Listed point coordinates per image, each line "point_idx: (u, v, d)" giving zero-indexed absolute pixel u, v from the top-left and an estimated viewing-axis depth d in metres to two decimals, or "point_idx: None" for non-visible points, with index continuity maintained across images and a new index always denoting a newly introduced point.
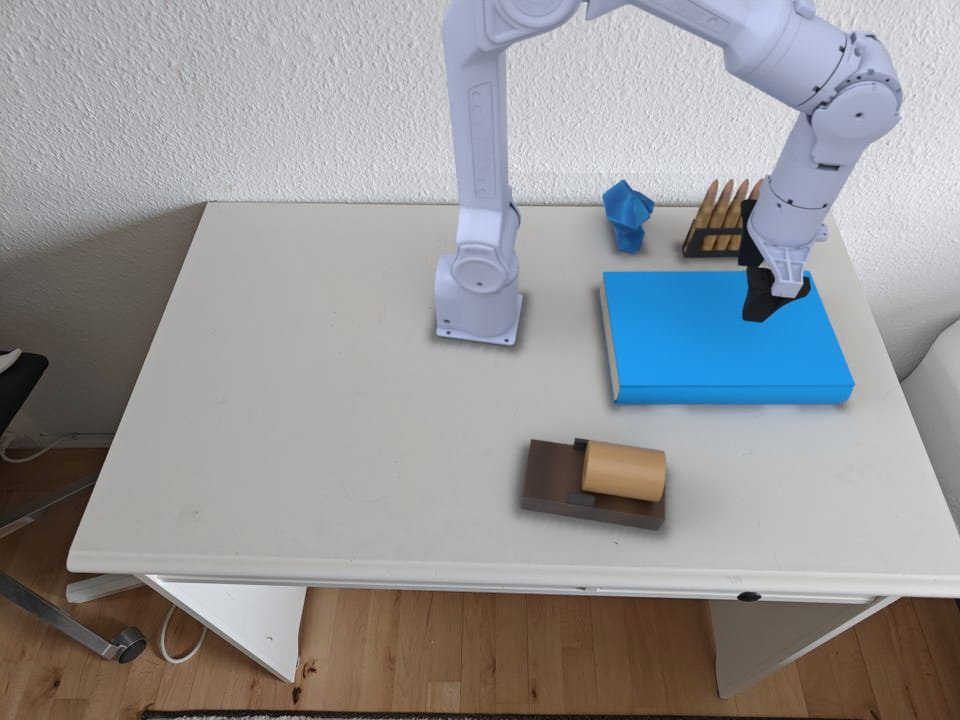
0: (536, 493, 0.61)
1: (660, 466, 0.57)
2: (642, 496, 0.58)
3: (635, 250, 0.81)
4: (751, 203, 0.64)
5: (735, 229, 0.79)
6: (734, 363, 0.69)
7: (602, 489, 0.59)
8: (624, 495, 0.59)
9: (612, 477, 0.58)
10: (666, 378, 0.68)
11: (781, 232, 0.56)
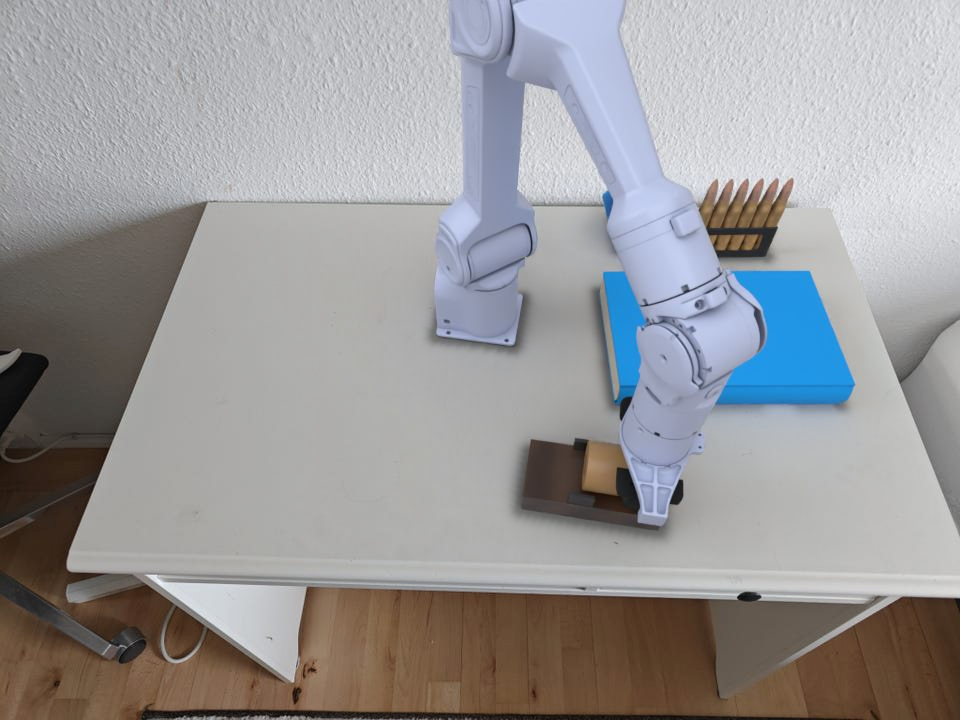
0: (536, 493, 0.61)
1: None
2: None
3: None
4: None
5: (735, 229, 0.79)
6: None
7: (602, 489, 0.59)
8: None
9: (612, 477, 0.58)
10: None
11: (647, 453, 0.51)
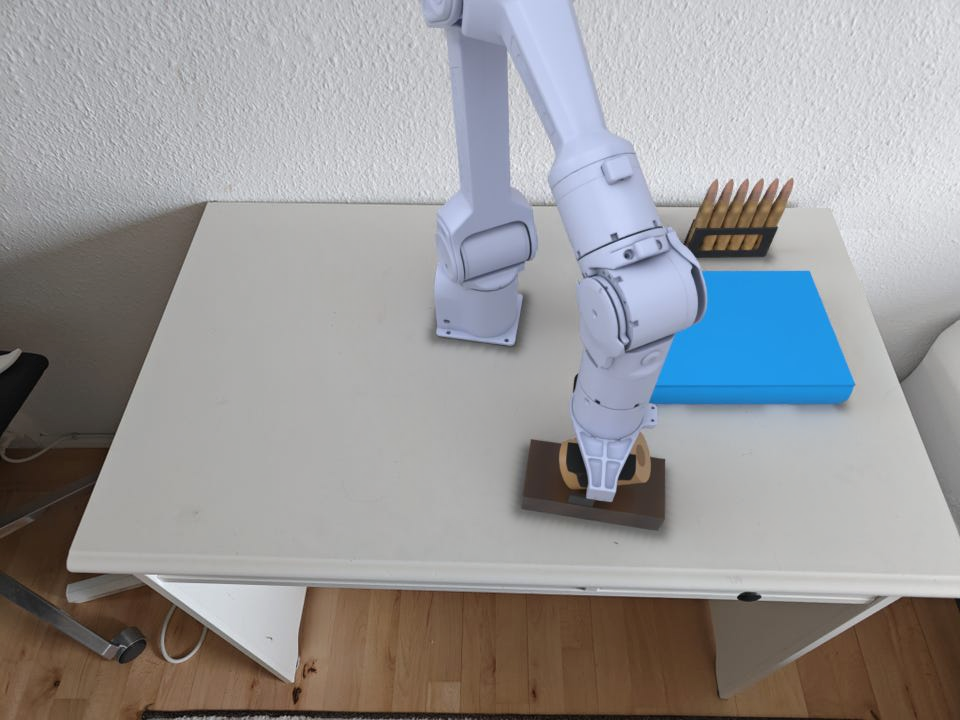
0: (536, 493, 0.61)
1: None
2: (621, 480, 0.56)
3: None
4: None
5: (735, 229, 0.79)
6: (734, 363, 0.69)
7: None
8: None
9: None
10: (666, 378, 0.68)
11: (596, 426, 0.49)
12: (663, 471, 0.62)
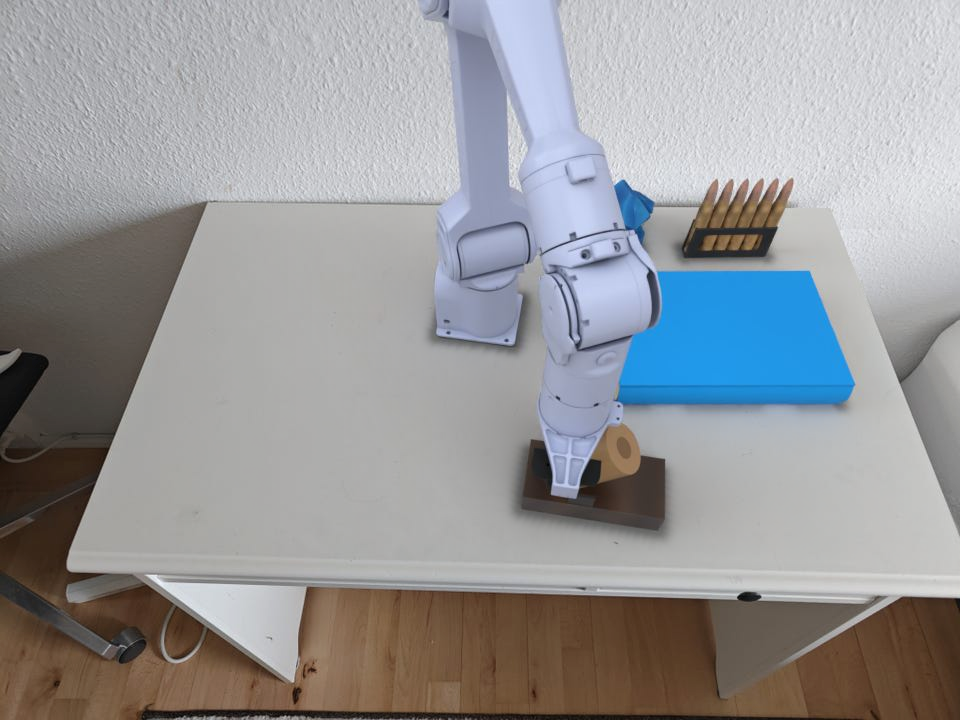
0: (536, 493, 0.61)
1: (602, 440, 0.55)
2: (606, 475, 0.56)
3: None
4: None
5: (735, 229, 0.79)
6: (734, 363, 0.69)
7: None
8: None
9: None
10: (666, 378, 0.68)
11: (561, 423, 0.49)
12: (663, 471, 0.62)
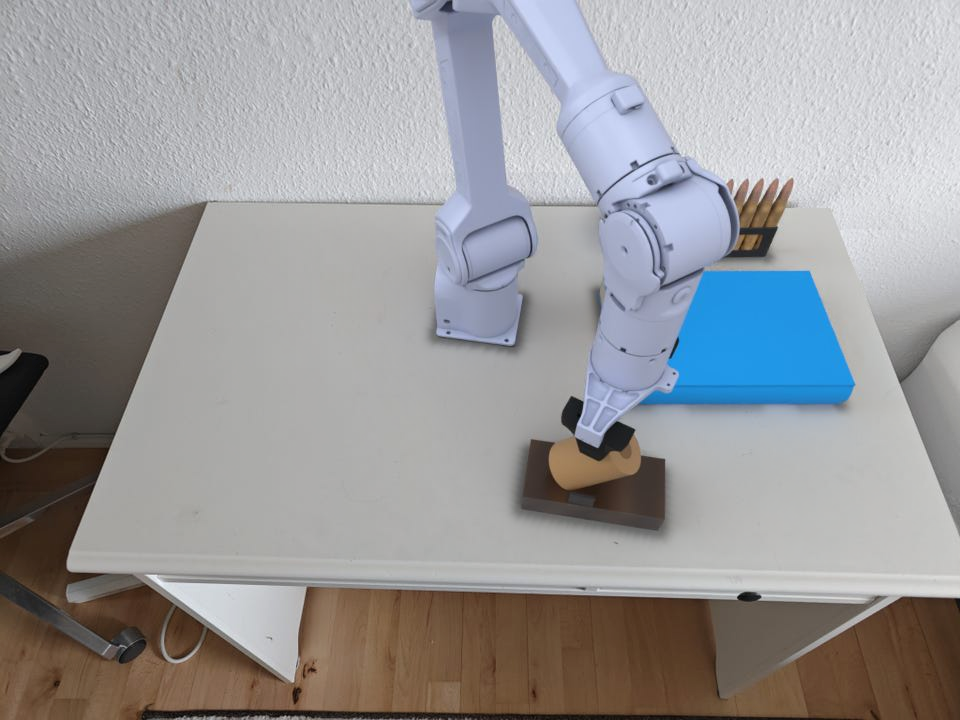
0: (536, 493, 0.61)
1: None
2: (607, 475, 0.56)
3: None
4: None
5: None
6: (734, 363, 0.69)
7: (575, 483, 0.58)
8: (596, 481, 0.57)
9: (570, 469, 0.58)
10: None
11: (605, 369, 0.48)
12: (663, 471, 0.62)
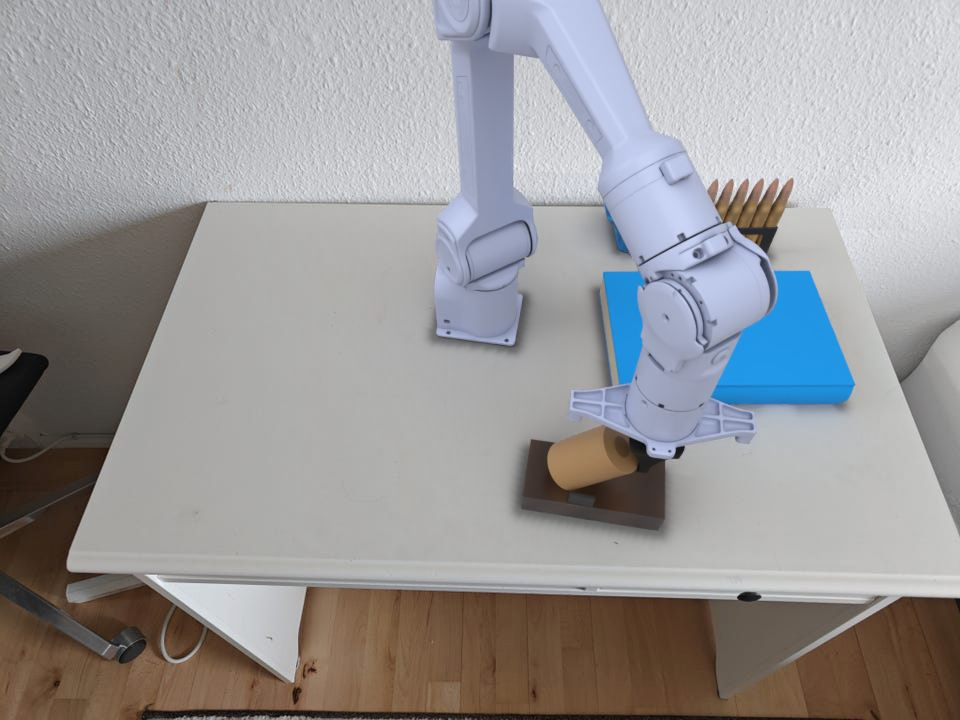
0: (536, 493, 0.61)
1: (599, 439, 0.55)
2: (604, 474, 0.56)
3: None
4: None
5: None
6: (734, 363, 0.69)
7: (574, 483, 0.59)
8: (595, 480, 0.57)
9: (569, 469, 0.58)
10: None
11: None
12: (663, 471, 0.62)
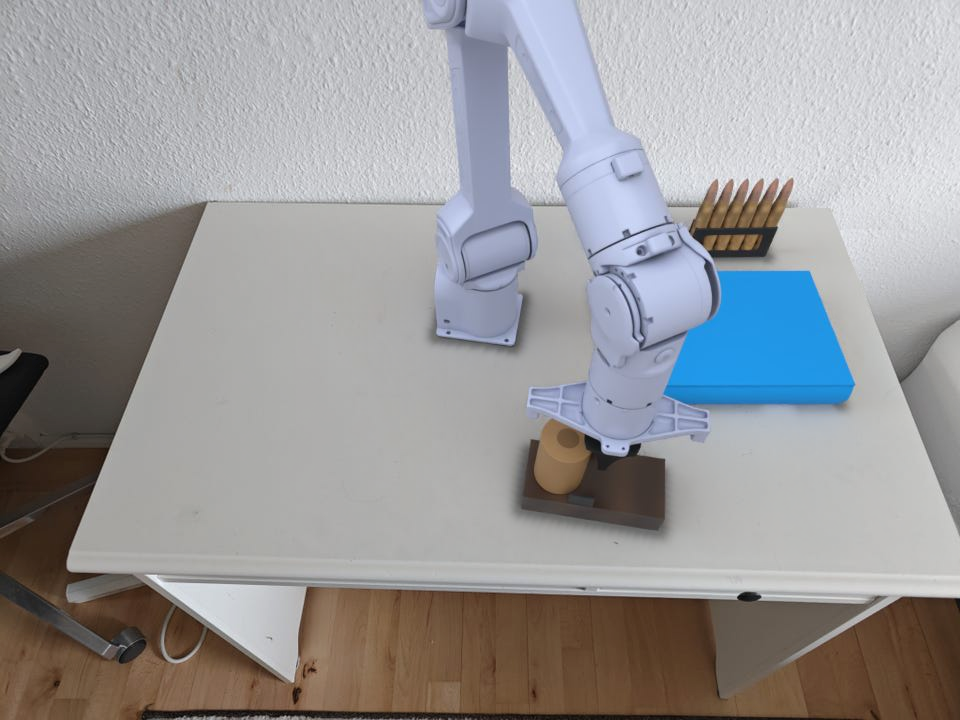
0: (536, 493, 0.61)
1: (540, 438, 0.57)
2: (560, 469, 0.57)
3: None
4: None
5: (735, 229, 0.79)
6: (734, 363, 0.69)
7: (555, 486, 0.60)
8: (563, 477, 0.58)
9: (541, 474, 0.60)
10: None
11: None
12: (663, 471, 0.62)
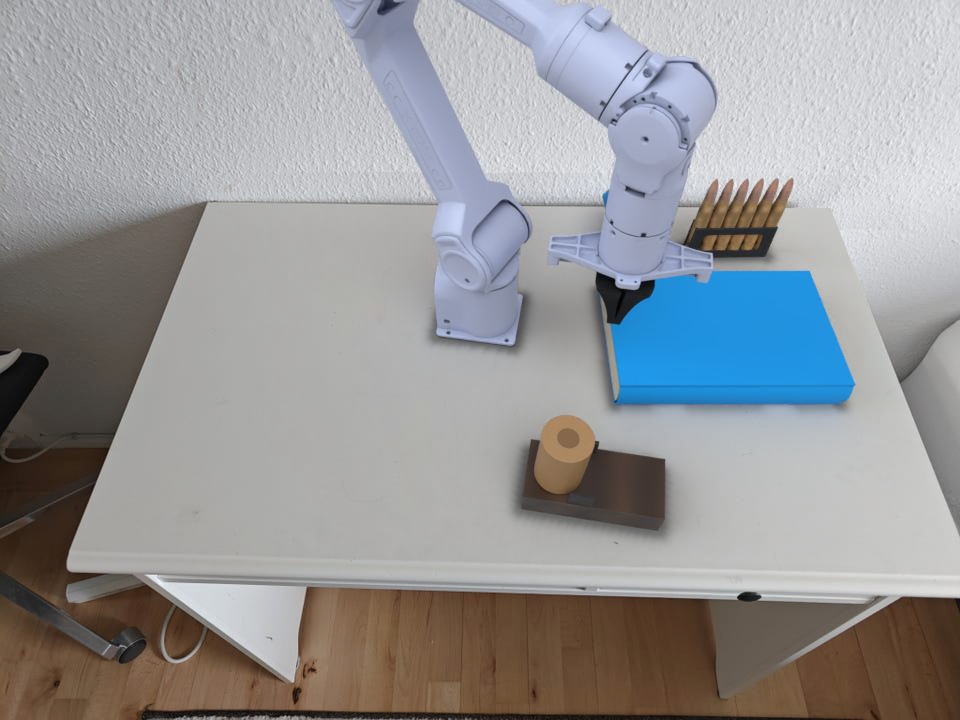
0: (536, 493, 0.61)
1: (541, 438, 0.57)
2: (561, 469, 0.57)
3: None
4: None
5: (735, 229, 0.79)
6: (734, 363, 0.69)
7: (555, 486, 0.60)
8: (563, 477, 0.58)
9: (541, 474, 0.60)
10: (666, 378, 0.68)
11: None
12: (663, 471, 0.62)
